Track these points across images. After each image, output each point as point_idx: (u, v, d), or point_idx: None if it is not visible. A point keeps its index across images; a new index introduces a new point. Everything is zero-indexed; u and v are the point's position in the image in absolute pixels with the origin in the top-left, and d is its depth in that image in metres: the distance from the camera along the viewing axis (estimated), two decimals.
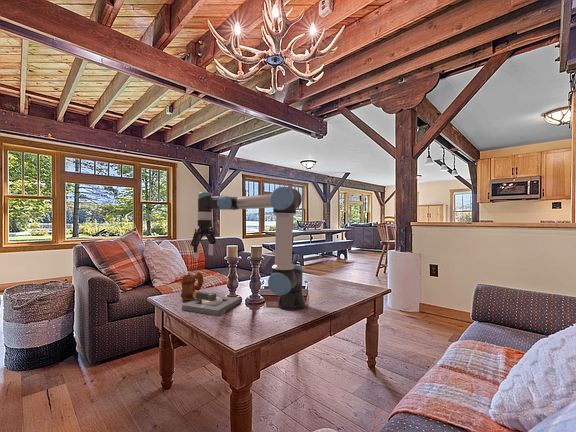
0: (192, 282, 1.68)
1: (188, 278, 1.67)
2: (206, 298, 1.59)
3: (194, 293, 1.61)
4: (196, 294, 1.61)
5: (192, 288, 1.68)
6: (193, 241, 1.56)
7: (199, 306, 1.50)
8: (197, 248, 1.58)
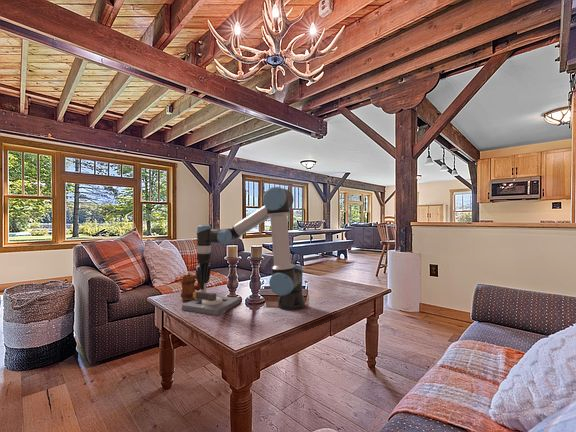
0: (192, 282, 1.68)
1: (188, 278, 1.67)
2: (206, 298, 1.59)
3: (194, 293, 1.61)
4: (196, 294, 1.61)
5: (192, 288, 1.68)
6: (199, 280, 1.59)
7: (199, 306, 1.50)
8: (204, 285, 1.61)
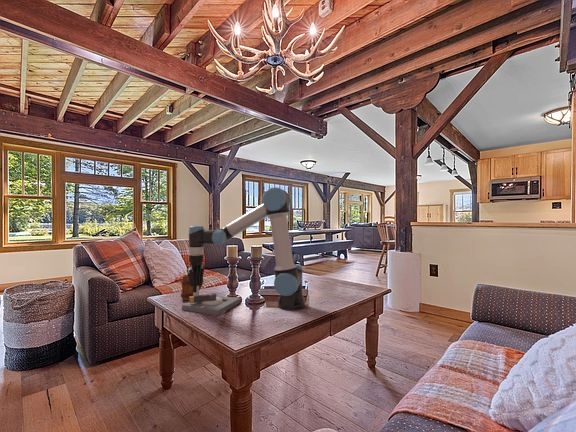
0: None
1: (188, 278, 1.67)
2: (207, 299, 1.56)
3: (191, 298, 1.52)
4: (194, 298, 1.53)
5: (192, 288, 1.68)
6: (191, 282, 1.53)
7: (199, 306, 1.50)
8: (196, 288, 1.56)
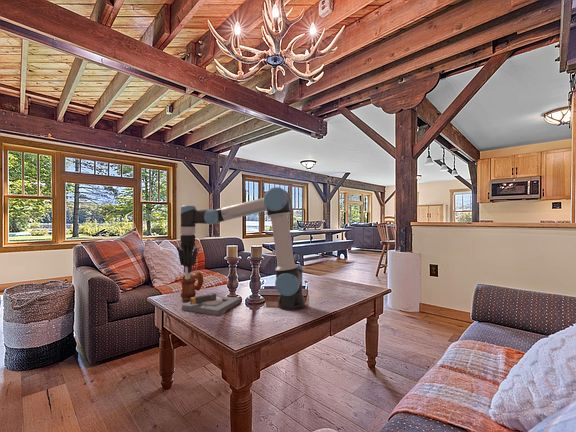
0: (192, 282, 1.68)
1: None
2: (207, 300, 1.56)
3: (193, 299, 1.50)
4: (196, 299, 1.51)
5: (192, 288, 1.68)
6: None
7: (199, 306, 1.50)
8: (185, 268, 1.54)
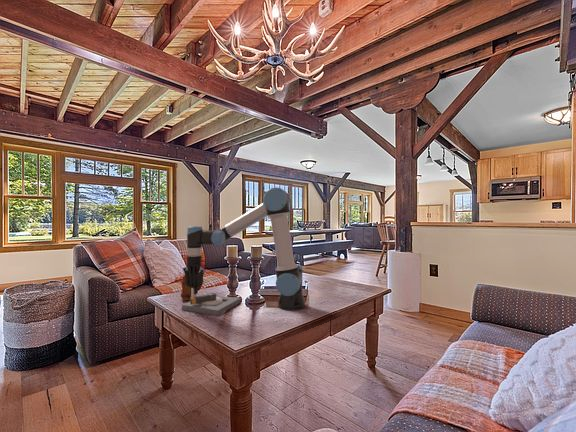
0: None
1: None
2: (208, 300, 1.56)
3: (193, 299, 1.50)
4: (196, 299, 1.51)
5: None
6: None
7: (199, 306, 1.50)
8: (191, 289, 1.53)
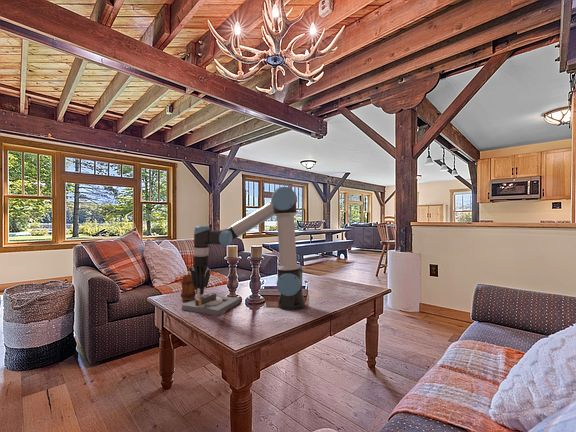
0: None
1: (188, 278, 1.67)
2: (210, 300, 1.55)
3: (200, 300, 1.48)
4: (201, 301, 1.49)
5: (192, 288, 1.68)
6: None
7: (199, 306, 1.50)
8: (197, 290, 1.51)
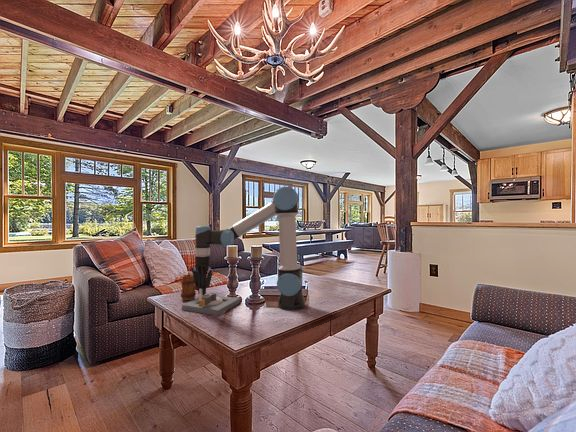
0: (192, 282, 1.68)
1: (188, 278, 1.67)
2: (211, 300, 1.55)
3: (203, 301, 1.48)
4: (205, 301, 1.49)
5: (192, 288, 1.68)
6: None
7: None
8: None
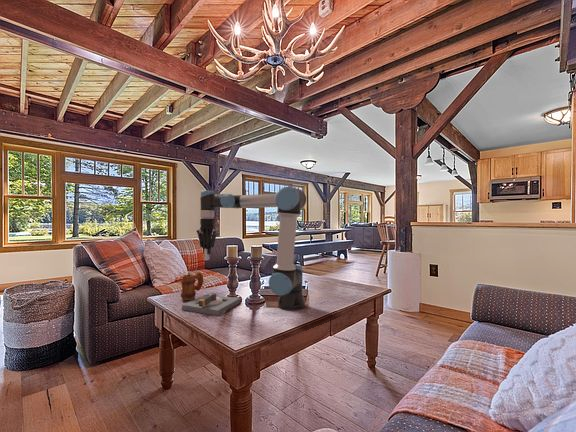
0: (192, 282, 1.68)
1: (188, 278, 1.67)
2: (211, 300, 1.55)
3: (203, 301, 1.48)
4: (205, 301, 1.49)
5: (192, 288, 1.68)
6: None
7: None
8: (204, 250, 1.62)
